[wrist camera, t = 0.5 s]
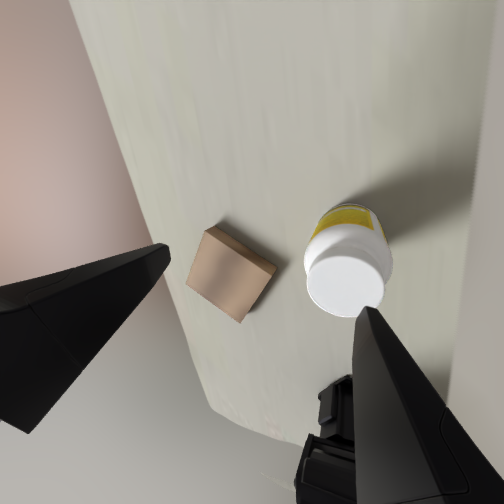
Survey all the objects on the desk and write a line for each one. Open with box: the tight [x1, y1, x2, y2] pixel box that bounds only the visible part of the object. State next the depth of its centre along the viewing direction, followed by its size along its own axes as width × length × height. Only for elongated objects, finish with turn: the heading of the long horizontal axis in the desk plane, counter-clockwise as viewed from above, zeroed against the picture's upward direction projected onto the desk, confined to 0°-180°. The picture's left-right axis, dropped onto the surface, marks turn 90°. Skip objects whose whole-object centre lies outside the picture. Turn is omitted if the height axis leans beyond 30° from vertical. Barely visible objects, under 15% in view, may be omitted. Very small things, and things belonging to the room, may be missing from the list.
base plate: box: [186, 226, 277, 323], centre depth 26 cm, size 9×9×2 cm
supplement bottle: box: [304, 204, 393, 317], centre depth 16 cm, size 5×5×10 cm
